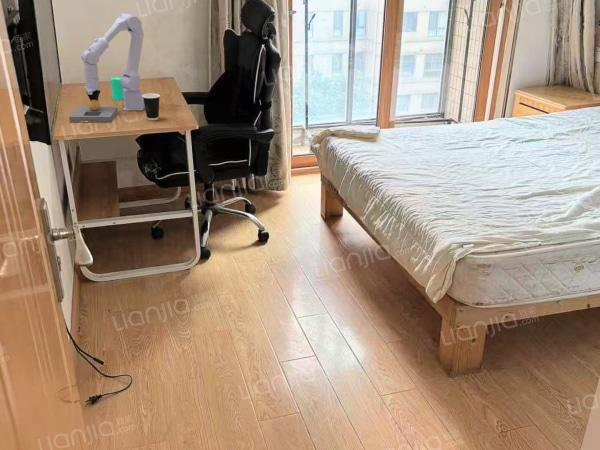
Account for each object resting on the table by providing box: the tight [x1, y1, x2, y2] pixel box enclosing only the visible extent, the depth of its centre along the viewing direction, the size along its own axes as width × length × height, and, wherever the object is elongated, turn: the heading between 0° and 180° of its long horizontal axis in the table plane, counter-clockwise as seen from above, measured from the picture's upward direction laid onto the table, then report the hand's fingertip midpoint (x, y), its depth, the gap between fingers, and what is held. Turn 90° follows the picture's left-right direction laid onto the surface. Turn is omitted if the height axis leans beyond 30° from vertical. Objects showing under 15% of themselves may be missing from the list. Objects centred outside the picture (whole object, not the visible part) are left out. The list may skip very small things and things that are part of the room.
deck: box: [69, 106, 119, 123], centre depth 281 cm, size 18×18×2 cm
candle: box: [110, 75, 124, 101], centre depth 311 cm, size 6×6×12 cm
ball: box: [88, 100, 101, 110], centre depth 282 cm, size 5×5×5 cm
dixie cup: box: [142, 93, 161, 121], centre depth 280 cm, size 8×8×11 cm
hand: (94, 106), depth 285 cm, fingers closed, pressing on ball
